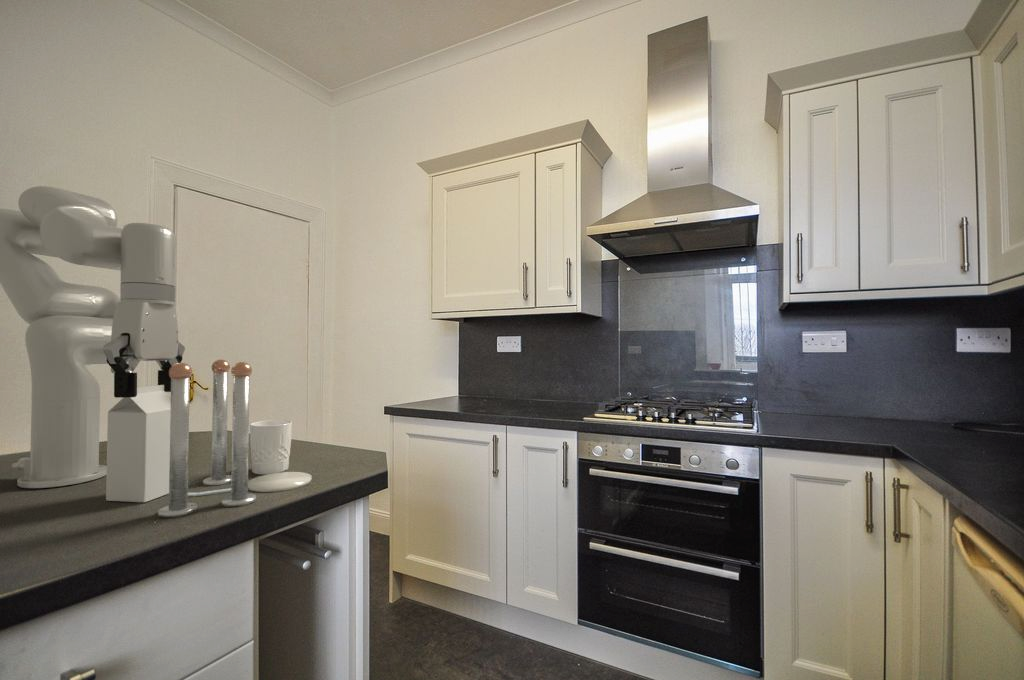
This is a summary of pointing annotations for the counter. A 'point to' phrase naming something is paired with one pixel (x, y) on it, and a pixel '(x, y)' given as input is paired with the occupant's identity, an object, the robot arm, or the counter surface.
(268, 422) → the white cup
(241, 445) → the post
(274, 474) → the coaster
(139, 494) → the milk carton
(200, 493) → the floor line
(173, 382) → the post
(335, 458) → the counter surface
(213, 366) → the post
